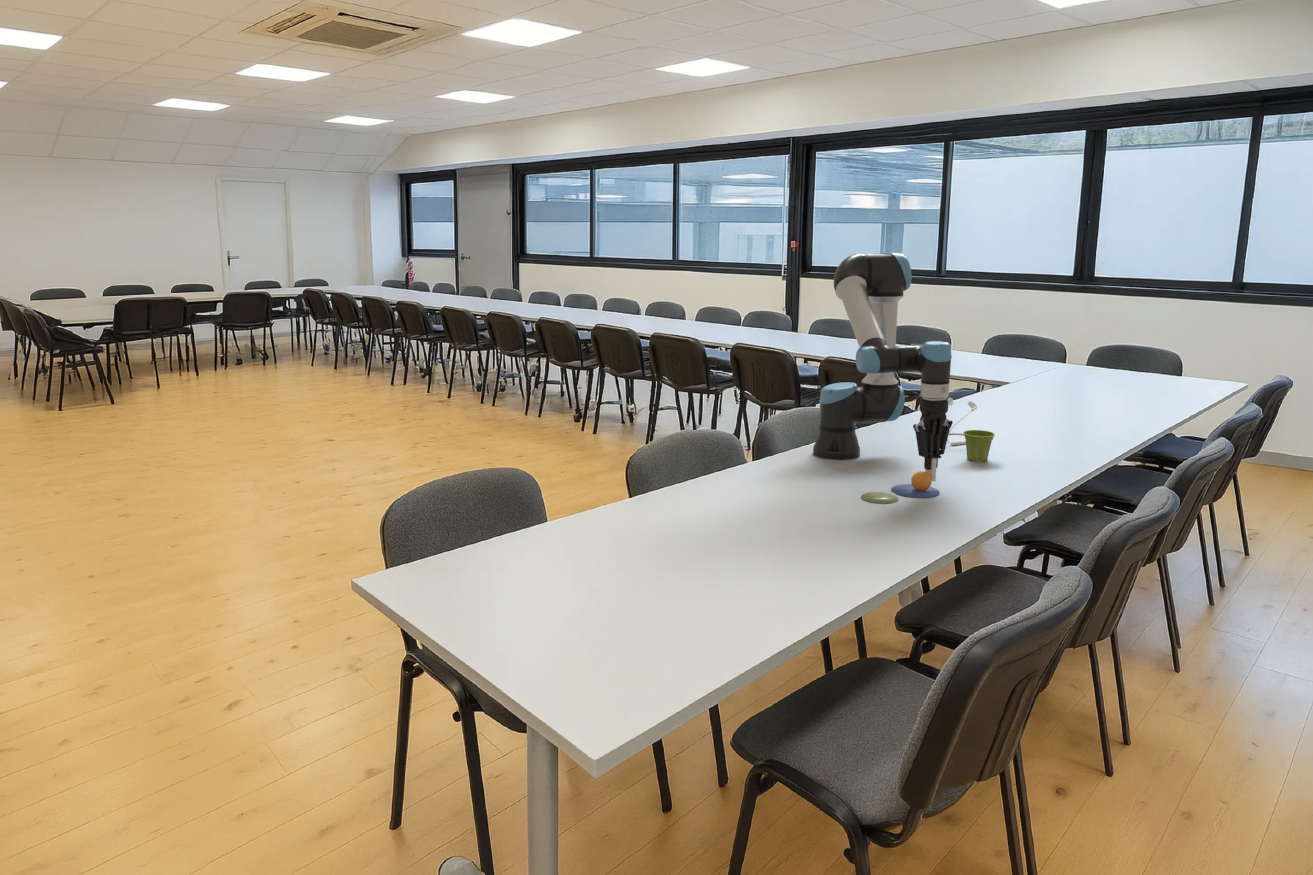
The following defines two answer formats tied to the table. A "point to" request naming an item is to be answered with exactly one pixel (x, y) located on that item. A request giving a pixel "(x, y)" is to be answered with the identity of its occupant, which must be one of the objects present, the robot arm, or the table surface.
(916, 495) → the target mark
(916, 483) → the ball
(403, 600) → the table surface
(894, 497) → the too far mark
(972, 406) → the earphone
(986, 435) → the plant pot
